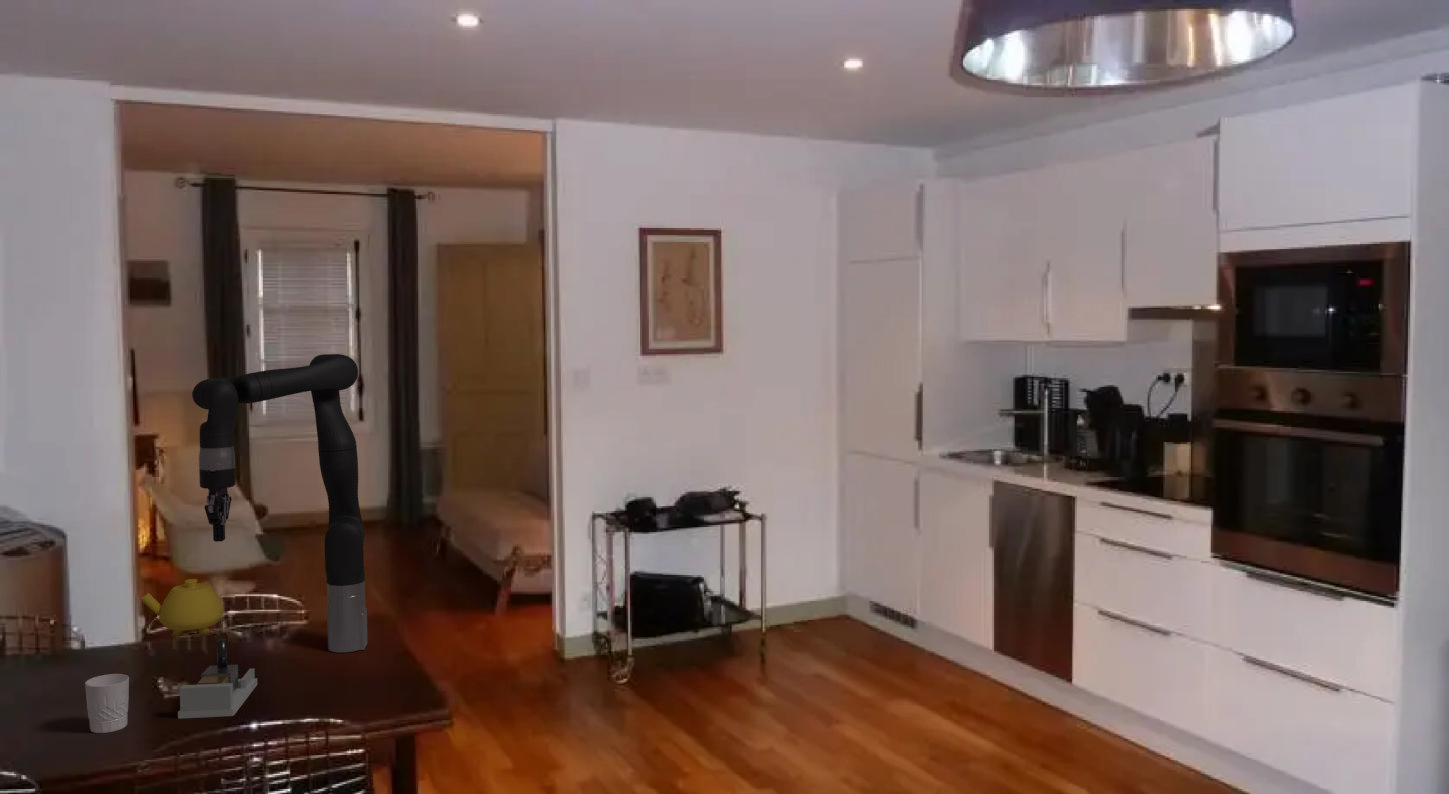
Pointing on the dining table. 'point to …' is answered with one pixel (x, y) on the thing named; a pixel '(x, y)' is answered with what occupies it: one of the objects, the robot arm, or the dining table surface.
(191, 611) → the teapot
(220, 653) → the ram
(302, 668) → the dining table surface
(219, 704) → the press
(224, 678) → the tan cube
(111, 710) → the white cup
